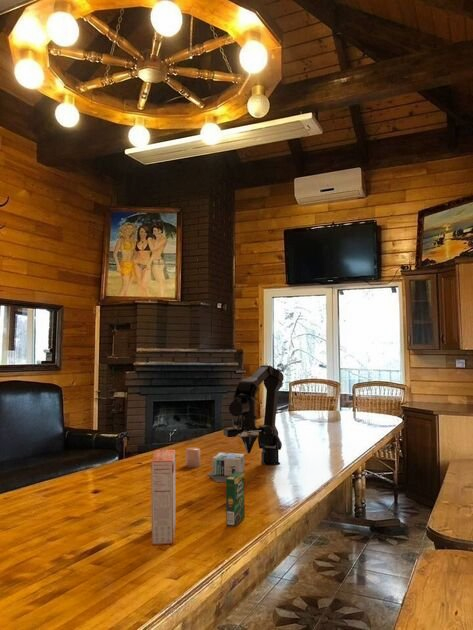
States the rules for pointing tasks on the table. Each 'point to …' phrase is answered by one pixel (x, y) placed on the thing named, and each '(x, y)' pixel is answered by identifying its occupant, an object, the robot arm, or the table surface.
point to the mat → (218, 477)
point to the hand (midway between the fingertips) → (248, 453)
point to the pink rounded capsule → (192, 457)
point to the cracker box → (163, 497)
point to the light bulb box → (228, 464)
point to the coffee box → (235, 499)
